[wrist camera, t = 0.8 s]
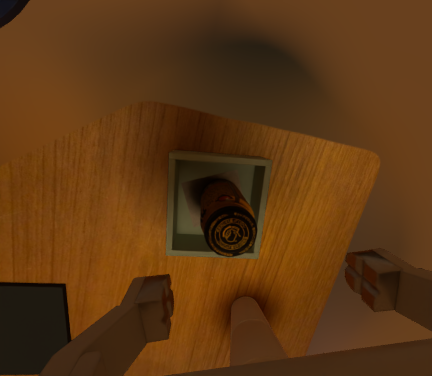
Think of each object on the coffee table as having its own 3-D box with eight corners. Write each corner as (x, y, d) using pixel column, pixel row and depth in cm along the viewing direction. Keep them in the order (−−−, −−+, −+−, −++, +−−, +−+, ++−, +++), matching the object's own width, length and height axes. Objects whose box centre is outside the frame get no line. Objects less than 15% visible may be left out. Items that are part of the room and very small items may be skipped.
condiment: (246, 214, 32) (271, 257, 20) (193, 226, 32) (188, 277, 20) (237, 169, 30) (258, 188, 19) (181, 182, 30) (167, 209, 18)
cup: (283, 290, 36) (358, 431, 19) (260, 337, 38) (309, 503, 21) (226, 275, 35) (251, 413, 17) (206, 325, 37) (210, 492, 19)
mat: (-30, 281, 32) (-35, 285, 31) (65, 284, 33) (62, 287, 32) (-10, 370, 36) (-15, 375, 35) (73, 369, 37) (71, 374, 37)
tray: (174, 149, 29) (168, 152, 24) (260, 156, 30) (272, 160, 25) (171, 236, 32) (165, 255, 27) (249, 240, 34) (258, 258, 28)
